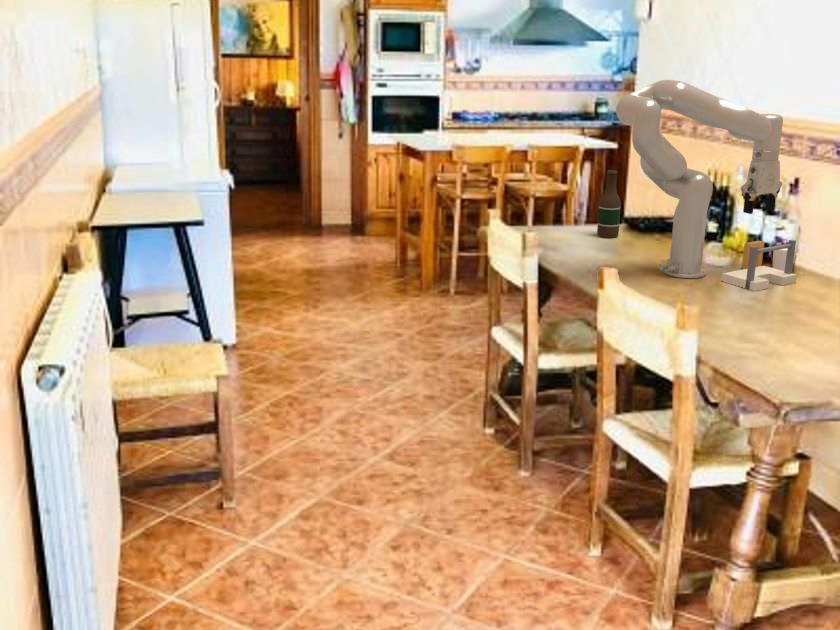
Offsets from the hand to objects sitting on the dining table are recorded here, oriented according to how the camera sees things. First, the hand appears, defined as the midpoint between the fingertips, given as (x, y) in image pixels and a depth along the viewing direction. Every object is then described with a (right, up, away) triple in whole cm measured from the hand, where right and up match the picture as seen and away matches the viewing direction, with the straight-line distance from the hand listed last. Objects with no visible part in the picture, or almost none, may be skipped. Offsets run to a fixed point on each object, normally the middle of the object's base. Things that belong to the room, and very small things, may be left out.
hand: (758, 211), depth 274 cm
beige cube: (+9, -18, +4) cm, 21 cm away
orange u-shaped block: (0, -17, +6) cm, 18 cm away
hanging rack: (-4, -22, -10) cm, 24 cm away
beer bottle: (-36, -4, +48) cm, 61 cm away
